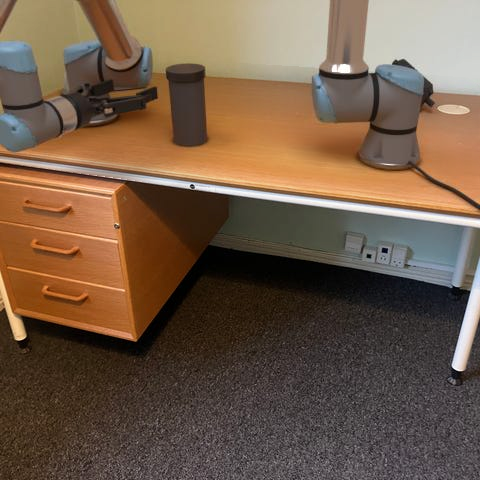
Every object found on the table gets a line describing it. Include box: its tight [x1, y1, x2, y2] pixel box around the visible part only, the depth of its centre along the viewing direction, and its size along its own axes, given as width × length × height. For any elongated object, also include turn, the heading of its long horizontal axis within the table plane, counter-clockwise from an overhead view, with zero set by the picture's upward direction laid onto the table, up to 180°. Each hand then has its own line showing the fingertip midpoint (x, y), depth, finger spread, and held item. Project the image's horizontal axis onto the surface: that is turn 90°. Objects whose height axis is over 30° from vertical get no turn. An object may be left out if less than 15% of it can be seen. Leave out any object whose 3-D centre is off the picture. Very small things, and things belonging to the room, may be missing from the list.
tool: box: [391, 58, 436, 108], centre depth 172 cm, size 6×19×15 cm, turn 51°
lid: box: [165, 62, 206, 82], centre depth 143 cm, size 11×11×2 cm
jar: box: [167, 78, 208, 147], centre depth 148 cm, size 10×10×20 cm
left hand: (133, 88), depth 126 cm, fingers open, 13 cm apart
